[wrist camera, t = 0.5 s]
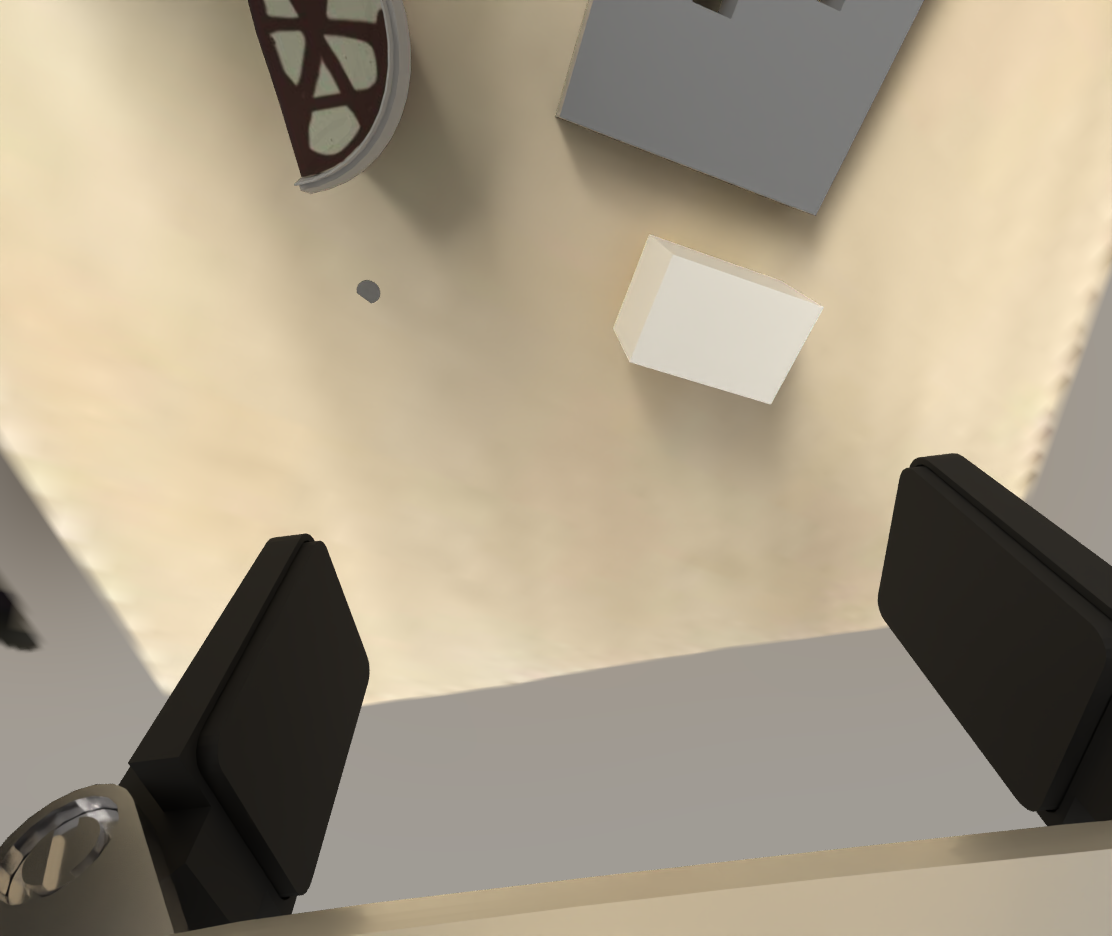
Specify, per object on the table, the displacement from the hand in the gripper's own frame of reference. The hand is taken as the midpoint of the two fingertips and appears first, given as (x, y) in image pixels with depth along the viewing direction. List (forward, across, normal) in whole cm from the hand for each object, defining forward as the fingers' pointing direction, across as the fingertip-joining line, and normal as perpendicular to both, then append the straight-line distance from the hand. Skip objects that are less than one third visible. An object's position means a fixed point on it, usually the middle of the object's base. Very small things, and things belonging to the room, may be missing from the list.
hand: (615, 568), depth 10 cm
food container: (+33, +8, -12) cm, 36 cm away
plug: (+33, -9, +4) cm, 35 cm away
